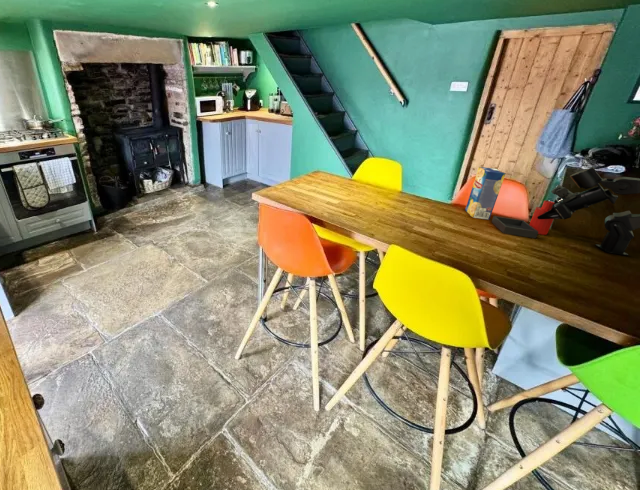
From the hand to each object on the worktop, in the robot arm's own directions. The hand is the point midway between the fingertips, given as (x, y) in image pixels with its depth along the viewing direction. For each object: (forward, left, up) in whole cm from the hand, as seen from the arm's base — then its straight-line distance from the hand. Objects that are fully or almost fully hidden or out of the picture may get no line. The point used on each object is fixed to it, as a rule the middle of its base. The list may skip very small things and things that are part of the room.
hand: (538, 215), depth 127 cm
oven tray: (-4, +9, -7) cm, 12 cm away
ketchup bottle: (-1, -1, -7) cm, 7 cm away
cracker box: (+11, +18, -7) cm, 22 cm away
